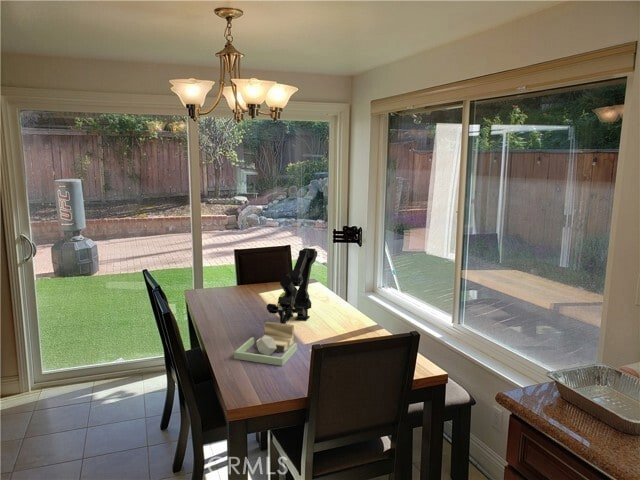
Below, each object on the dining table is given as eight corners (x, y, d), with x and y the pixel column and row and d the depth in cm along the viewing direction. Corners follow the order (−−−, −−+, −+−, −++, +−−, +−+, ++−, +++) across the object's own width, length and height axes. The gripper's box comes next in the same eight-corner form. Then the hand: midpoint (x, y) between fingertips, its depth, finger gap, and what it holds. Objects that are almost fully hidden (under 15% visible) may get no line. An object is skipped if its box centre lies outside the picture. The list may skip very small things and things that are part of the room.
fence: (251, 343, 221) (251, 337, 220) (297, 349, 214) (297, 343, 214) (234, 358, 204) (233, 352, 204) (282, 365, 198) (282, 358, 197)
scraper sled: (266, 338, 227) (266, 321, 226) (294, 342, 223) (293, 325, 221) (255, 348, 215) (254, 330, 214) (283, 352, 211) (283, 334, 209)
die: (280, 355, 209) (277, 334, 213) (272, 352, 202) (269, 330, 206) (264, 360, 211) (261, 339, 215) (255, 357, 204) (252, 335, 208)
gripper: (267, 287, 230) (258, 316, 222) (303, 291, 224) (295, 321, 216) (273, 298, 239) (265, 326, 230) (309, 302, 233) (301, 331, 225)
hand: (281, 326), depth 225 cm, fingers closed
